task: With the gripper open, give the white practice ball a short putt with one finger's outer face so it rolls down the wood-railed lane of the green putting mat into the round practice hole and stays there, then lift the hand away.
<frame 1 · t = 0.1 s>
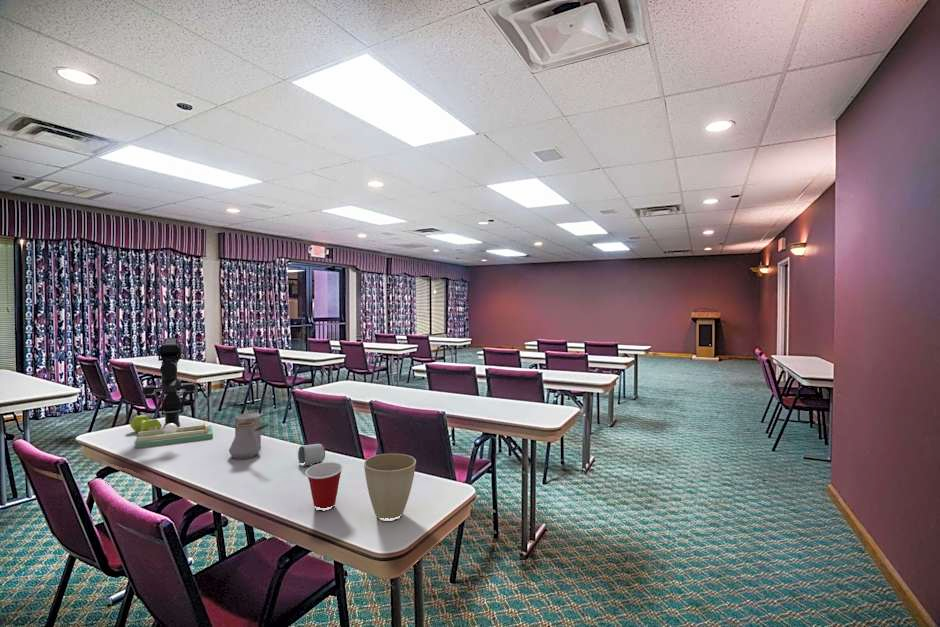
hand: (169, 407, 198), 15 cm above the table, fingers open, 9 cm apart
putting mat: (176, 438, 202), on the table
dumbbell: (145, 433, 210), on the table, touching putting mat
ceramic mug: (309, 463, 174), on the table
coffee pot: (252, 458, 178), on the table
golf ball: (170, 428, 201), point 4 cm above the table, touching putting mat
plastic cup: (324, 508, 136), on the table
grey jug: (248, 448, 191), on the table
plant pot: (389, 516, 131), on the table
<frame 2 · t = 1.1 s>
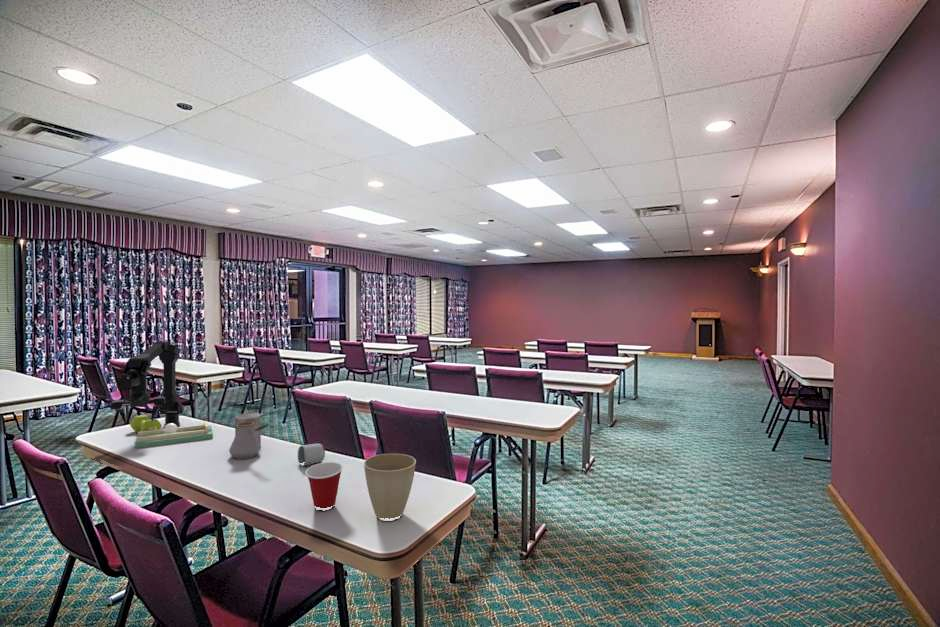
hand: (138, 422, 195), 9 cm above the table, fingers open, 9 cm apart
nothing on the table moved.
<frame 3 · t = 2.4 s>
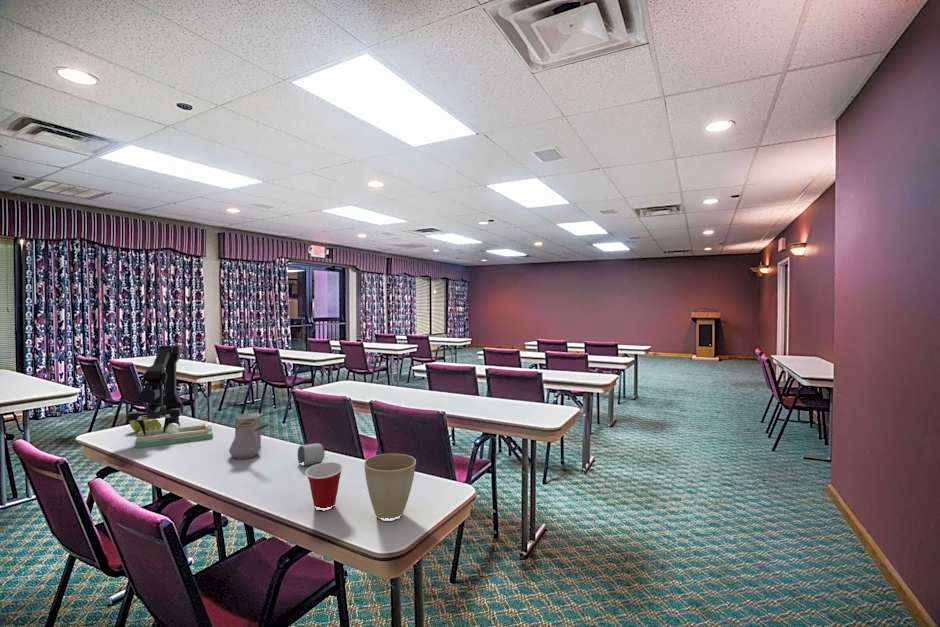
hand: (154, 433, 198), 3 cm above the table, fingers open, 6 cm apart
golf ball: (172, 428, 202), point 4 cm above the table, tilted 19°, touching gripper, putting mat
everything else where it was.
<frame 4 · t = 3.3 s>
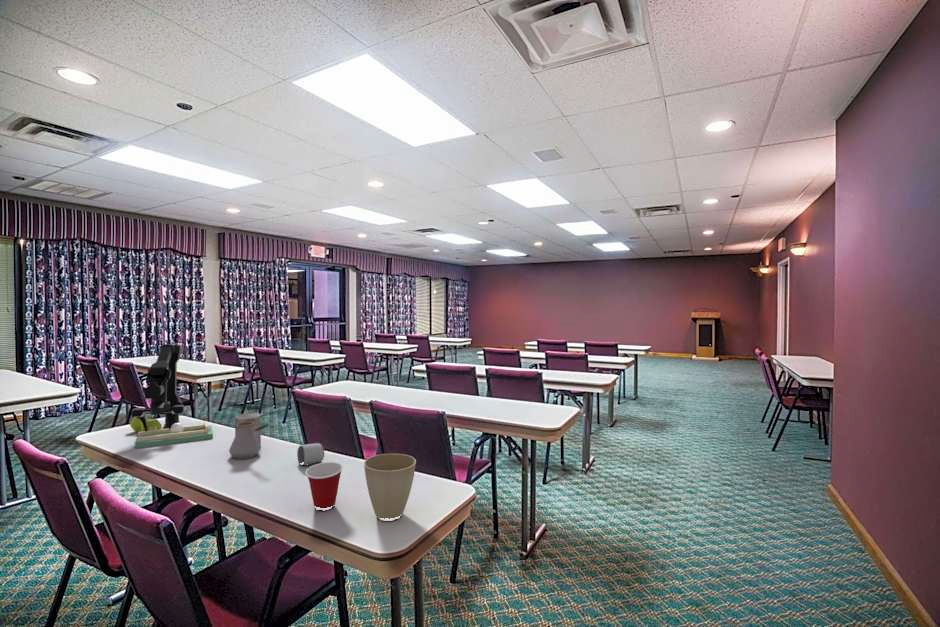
hand: (158, 430, 198), 5 cm above the table, fingers open, 8 cm apart
golf ball: (176, 428, 202), point 4 cm above the table, tilted 55°, touching gripper, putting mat
everything else where it was.
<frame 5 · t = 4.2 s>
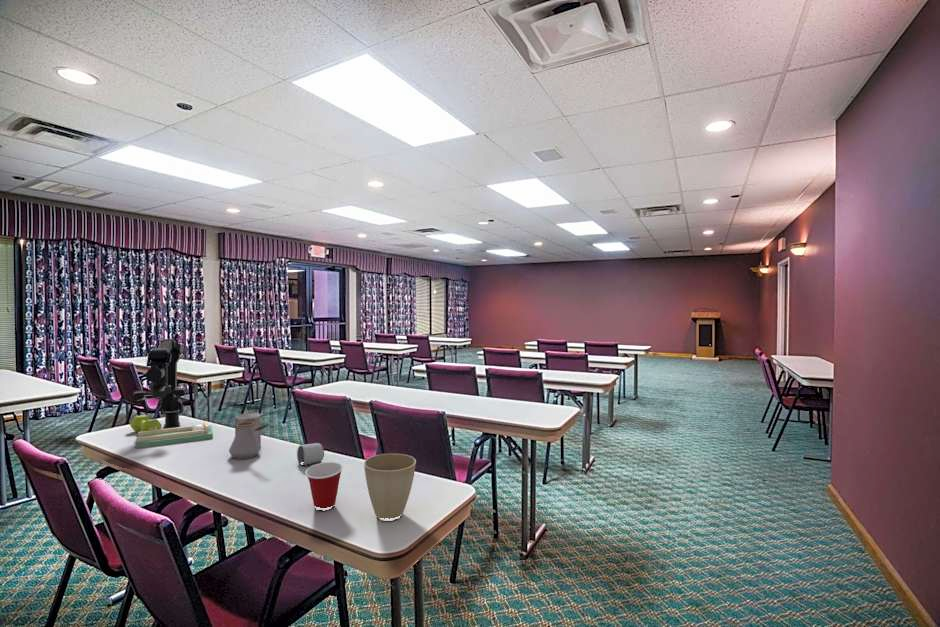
hand: (159, 413, 199), 12 cm above the table, fingers open, 9 cm apart
golf ball: (198, 430, 207), point 2 cm above the table, tilted 100°
everything else where it was.
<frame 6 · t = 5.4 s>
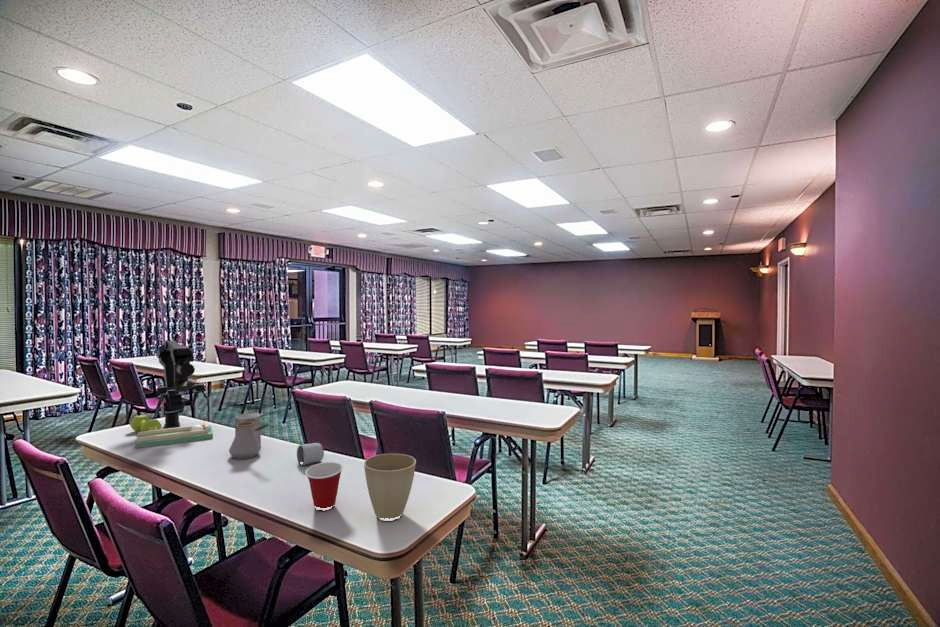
hand: (181, 407, 211), 12 cm above the table, fingers open, 9 cm apart
golf ball: (197, 430, 206), point 2 cm above the table, tilted 115°
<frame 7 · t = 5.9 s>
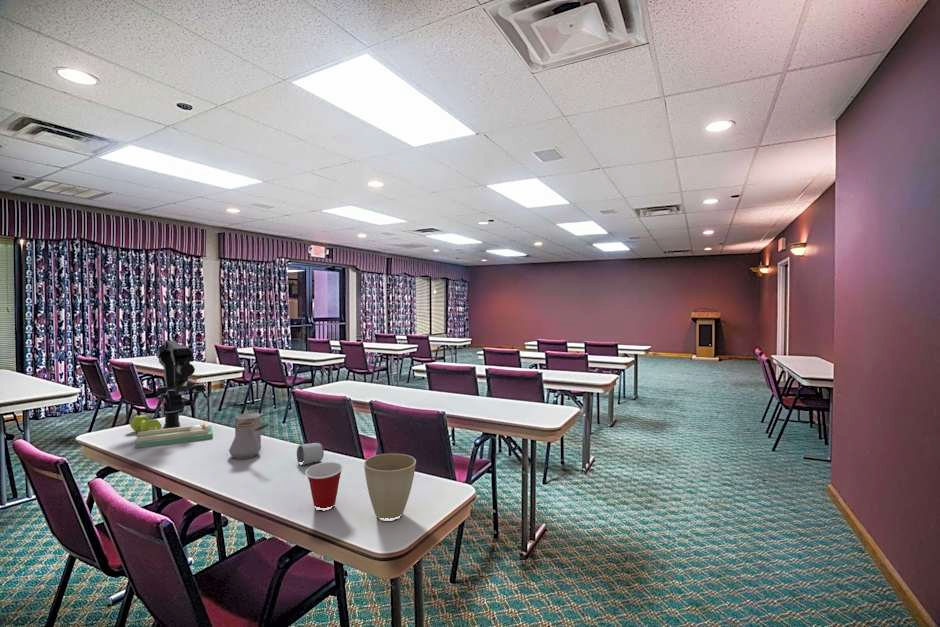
hand: (181, 407, 211), 12 cm above the table, fingers open, 9 cm apart
golf ball: (196, 430, 206), point 2 cm above the table, tilted 120°
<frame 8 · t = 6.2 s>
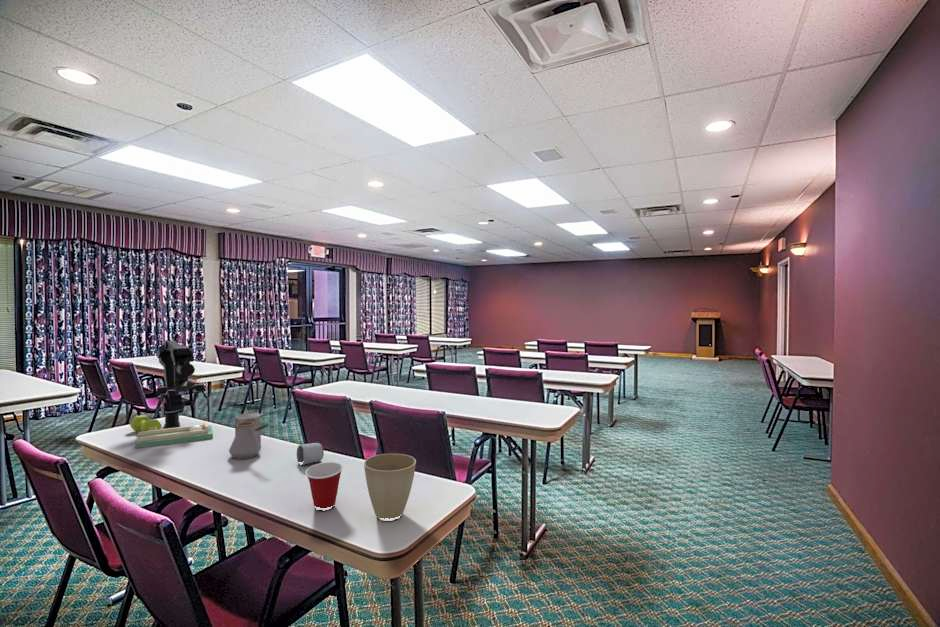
hand: (181, 407, 211), 12 cm above the table, fingers open, 9 cm apart
at the end: golf ball 0.8 cm from the target spot on the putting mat, point 2.5 cm above the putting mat's base; dumbbell moved 0.2 cm from its start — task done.
